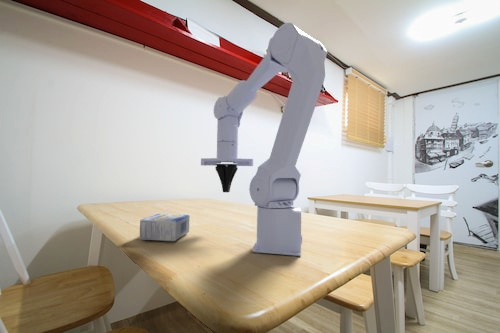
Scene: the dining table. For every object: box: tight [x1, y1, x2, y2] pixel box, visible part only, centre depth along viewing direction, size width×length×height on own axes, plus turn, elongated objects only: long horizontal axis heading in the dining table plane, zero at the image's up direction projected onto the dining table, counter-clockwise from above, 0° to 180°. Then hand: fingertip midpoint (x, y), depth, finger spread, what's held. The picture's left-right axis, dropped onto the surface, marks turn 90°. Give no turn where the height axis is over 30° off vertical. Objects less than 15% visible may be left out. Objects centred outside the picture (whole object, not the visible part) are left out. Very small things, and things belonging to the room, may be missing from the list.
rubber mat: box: [155, 233, 188, 243], centre depth 55 cm, size 6×7×1 cm
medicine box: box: [139, 213, 190, 242], centre depth 54 cm, size 8×4×9 cm
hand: (226, 192), depth 62 cm, fingers closed
